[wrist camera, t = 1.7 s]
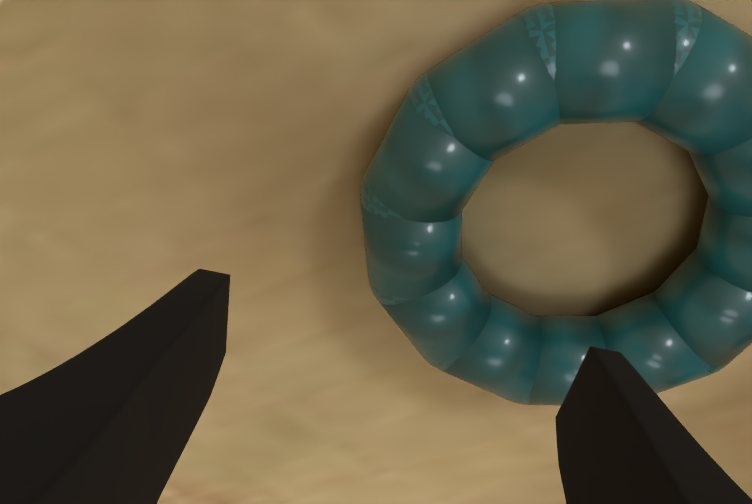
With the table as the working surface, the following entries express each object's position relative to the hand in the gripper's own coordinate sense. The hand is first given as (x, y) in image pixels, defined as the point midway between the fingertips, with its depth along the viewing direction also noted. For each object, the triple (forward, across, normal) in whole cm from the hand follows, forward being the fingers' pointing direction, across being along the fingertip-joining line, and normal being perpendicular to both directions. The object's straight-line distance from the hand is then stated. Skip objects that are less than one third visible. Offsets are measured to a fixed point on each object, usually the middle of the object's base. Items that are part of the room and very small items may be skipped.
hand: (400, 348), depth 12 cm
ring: (+7, -5, 0) cm, 9 cm away
